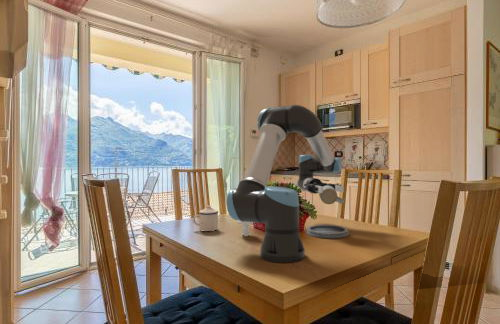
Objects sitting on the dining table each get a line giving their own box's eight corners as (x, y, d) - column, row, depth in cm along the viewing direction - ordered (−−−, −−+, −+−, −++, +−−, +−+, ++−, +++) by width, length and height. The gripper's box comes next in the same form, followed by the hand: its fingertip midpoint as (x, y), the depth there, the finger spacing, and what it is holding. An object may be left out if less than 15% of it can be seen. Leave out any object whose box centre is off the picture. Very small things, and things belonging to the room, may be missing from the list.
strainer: (248, 238, 127) (247, 202, 127) (234, 236, 130) (233, 201, 130) (256, 234, 133) (256, 200, 133) (243, 232, 136) (242, 199, 136)
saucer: (315, 239, 122) (315, 234, 122) (301, 229, 140) (301, 225, 140) (356, 237, 125) (356, 232, 125) (337, 227, 143) (336, 223, 143)
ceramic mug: (320, 204, 128) (320, 186, 128) (319, 202, 136) (319, 185, 136) (346, 205, 126) (346, 187, 126) (343, 202, 134) (343, 185, 134)
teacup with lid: (219, 227, 147) (219, 204, 147) (217, 232, 138) (217, 207, 138) (195, 228, 147) (194, 204, 147) (191, 232, 138) (191, 207, 138)
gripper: (333, 192, 152) (355, 197, 129) (292, 193, 148) (308, 199, 126) (333, 177, 152) (355, 180, 129) (292, 178, 148) (308, 181, 126)
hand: (332, 189), depth 128 cm, fingers closed on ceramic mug, 9 cm apart
